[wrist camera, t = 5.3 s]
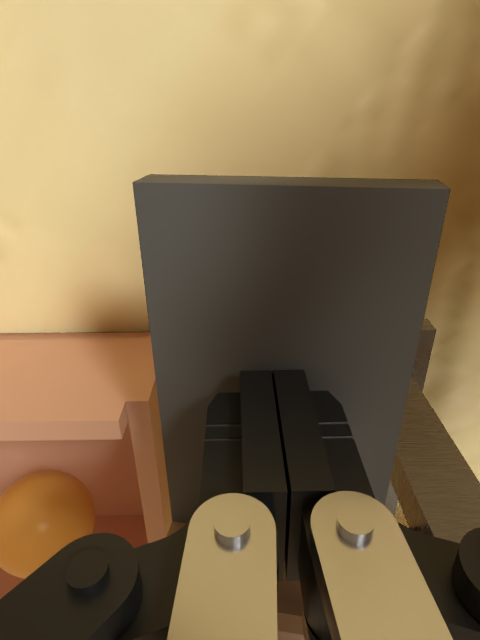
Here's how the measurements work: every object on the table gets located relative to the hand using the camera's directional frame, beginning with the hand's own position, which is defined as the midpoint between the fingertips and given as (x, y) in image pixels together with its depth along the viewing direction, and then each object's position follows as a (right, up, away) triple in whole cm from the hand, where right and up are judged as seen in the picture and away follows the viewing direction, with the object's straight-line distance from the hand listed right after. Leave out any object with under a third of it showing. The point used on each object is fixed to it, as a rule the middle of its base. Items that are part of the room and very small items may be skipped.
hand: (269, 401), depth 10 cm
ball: (-9, -6, +7) cm, 13 cm away
